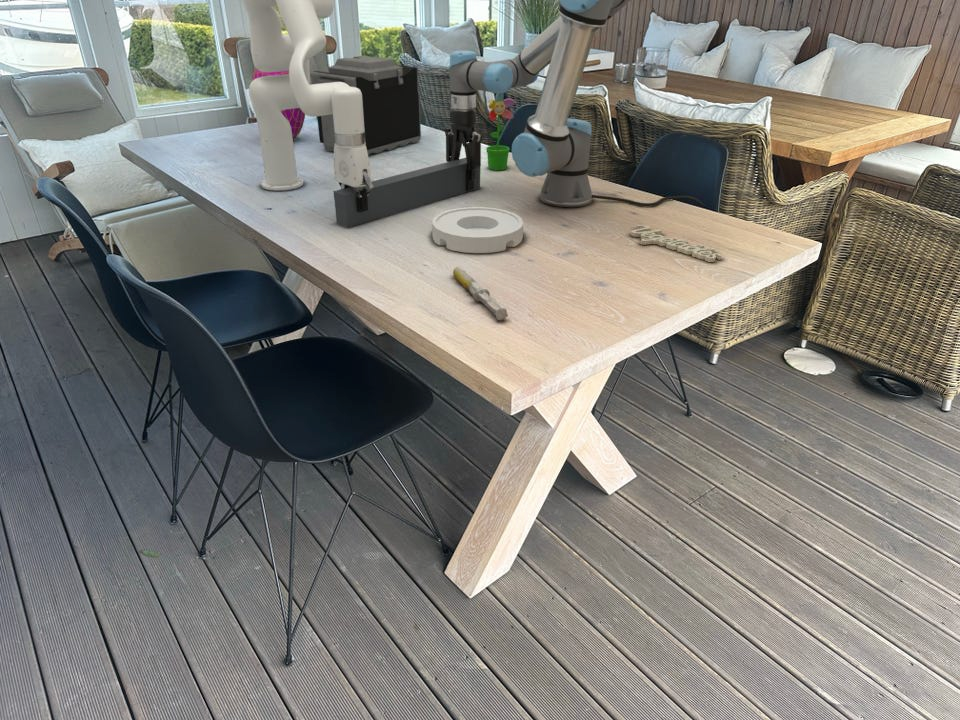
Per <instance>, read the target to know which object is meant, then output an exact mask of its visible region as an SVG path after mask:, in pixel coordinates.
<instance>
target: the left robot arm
mask: <svg viewBox="0 0 960 720" xmlns="http://www.w3.org/2000/svg"><path fill="white" fill-rule="evenodd" d="M242 3H243V6H244V8H245V10H246V14H247V18H248V26H249V39H250V48H251V49H250V50H251V51H250V52H251V58H252V63H253V66H254V67H256V69H258V70H259V71H261V72H280V71H289V74H286V75H273V76H264V77H259V78H257V79H255V80H253V81H252V80H251V82H250V84H249V87H248V93H249V97H250V101H251V104H252V107H253V110H254V114H255V119H256V123H257V129H258V135H259V143H260V149H261V156H262V164H263V173H264V176H265V179H263V180H262V181H261V183H260V184H261V188H262V189H264V190H267V191H276V192H279V191H280V192H281V191H291V190H295V189H298V188H301V187H302V186H303V185H304V180H303V178H301V177H299V176H298V171H297V161H296V154H295V145H294V138H293V137H292V130H291V125H290V123H289V121H288V120H287V119H286V118H285V117H284V116H283V114H282V113H281V111H282V110H286V109H294V108H300V109H301V110H302V112H303V113H304V114H305V116H307V117H314V118H315V117H317V116H323V115H329V114H333V120H334V130H335V141H336V143H335V146H334V151H333V174H334V180H335V181H336V182H337V183H338V185H339V186H340V189H344V188H348V187H356V191H357V195H358V197H357V198H356V200H357V211H358V212H359V213H360V212H364V211H367V210H368V199H367V196H368V195H369V192H370V191H371V190H372V189H373V184H372V180H371V179H372V176H371V175H372V174H371V165H370V159H369V155H368V153H367V148H366V146H365V145H366V143H365V129H364V116H363V102H362V93H361V91H360V89H358V88H356V87H350V86H349V85H347V84H346V83H343V82H332V83H321V84H312V83H311V71H310V70H311V69H310V67H311V66H310V59H311V58H313V57H315V56H316V55H317V54H319V53H320V52H322V51H323V49H324V48H326V46H327V38H326V35H325V32H324V30H323V27H322V25H321V23H320V19H328V18H329V17H331V16H332V14H333V11H334V0H242ZM275 7H277V9H278V11H279V13H280V15H279V13H278V11H277V10H276V8H275ZM282 22H283V24H284V27H285V29H286V32H287V33H285V34H283V31H282ZM360 187H363V189H362V191H361V190H360Z"/></svg>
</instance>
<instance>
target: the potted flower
mask: <svg viewBox="0 0 960 720" xmlns="http://www.w3.org/2000/svg"><path fill="white" fill-rule="evenodd" d="M504 97H505V93H496V95H495V98H494V99H491V100H490V101H489V104H488V108H489V109H490V111H489V113H488V116H489V120H490V121H491V122H493V121H495V120H496V118H497V131H494V132H492V133H490V136H491V138H493V139H496V145H495V144H494V145H488V146H486V153H487V155H486V156H487V166H488V169H490V170H492V171H503V170H506V169H507V168H508V159H509V154H510V147H509V146H506V145H501V144H500V132H502V131H504V129H505V126H503V125H500V123H501V122H500V121H501V119H500V118H501V117H502V118H503V119H505V120H511V119H514V118H515V117H514V115H513V113H512V112H511V111H510V110H509V109H508V108H510V107H512V106H514V105H516V104H517V102H516V101H515V100H514V99H513V98H505V99H504Z"/></svg>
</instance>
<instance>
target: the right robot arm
mask: <svg viewBox="0 0 960 720" xmlns="http://www.w3.org/2000/svg"><path fill="white" fill-rule="evenodd" d="M558 2H559V3H560V5H559V7H558V13H559V15H560V16H558V18H557V19H555V20H554V21H553V22H552V23H551V24H550V25H549V26H548V27H546V29H544V30H543V31H542V32H541V33H540V34H538V36H536V37H535V38H534V39H533V40H532V41H531V42H530V43H529V44H527V46H525V47H524V48H523V49H522V50H521V51H520V52H519V53H518V54H516V56H514V57H513V58H510V59H504V60H496V61H483V60H478V58H477V53H476V52H475V51H473V50H454V51H452V52H451V53H450V54H449V66H448V68H449V108H450V110H449V119H450V121H449V122H450V124H451V126H450V127H447V128H444V135H445V162H450V161H454V160H458V159H460V156H461V152H462V151H461V150H462V147H463V148H464V154H465V158H466V160H467V165H468V168H466V191H469V192H472V191H475V190H474V180H475V169H476V168H479V167H480V168H481V166H482V139H483V134H482V133H478V132H476V129H475V124H476V122H477V111H476V108H477V91H481V92H487V93H491V94H498V93H503V94H505V93H507V92H508V90H510V89H513V88H518V87H527V86H529V85H532V84H534V83H535V82H536V81H537V79H538V77H539V75H540V72H541V71H543V70H544V69H546V67H548V68H547V72H546V76H545V79H544V83H543V86H542V89H541V93H540V97H539V99H538V103H537V106H536V110H535V114H533V115H531V116H529V117H528V118H527V121H526V124H525V127H524V130H523V131H524V132H521V133H520V134H518V135H517V136H516V137H515V138H514V139H513V142H512V144H511V156H512V160H513V161H514V163H515V166H516V168H517V169H518V170H519V171H520V173H522V174H524V176H525V175H526V176H527V177H533V178H534V177H543V176H544V175H546V176H545V178H544V181H543V184H542V187H541V189H540V192H539V200H540V202H542V203H543V204H546V205H549V206H553V207H558V208H559V207H560V208H580V207H584V206H588V205H589V204H591V203H592V199H598V200H599V199H601V200H608V201H617V202H623V203H628V204H632V205H636V206H640V207H655V206H657V205H659V204H661V203H662V202H664V201H669V200H691V201H693V202H695V203H697V204H698V205H699V206H700V207H703V206H704V204H703V202H702V201H701V200H700V199H698V198H697V197H694V196H690V195H675V196H673V195H672V196H664V197H662V198H660V199H658V200H657V201H654V202H640V201H635V200H631V199H628V198H627V199H626V198H623V197H622V198H621V197H616V196H615V197H614V196H607V195H598V194H593V193H592V188H591V184H590V179H589V165H590V153H591V143H592V137H593V135H592V124H591V122H589V121H587V120H583V119H578V118H571V117H570V114H571V110H572V107H573V105H574V101H575V99H576V95H577V93H578V88H579V86H580V83H581V80H582V78H583V77H582V76H583V73H584V70H585V67H586V64H587V62H588V59H589V55H590V51H591V48H592V45H593V42H594V39H595V37H596V33H597V31H598V30H599V29H601V28H603V27H605V26H606V22H607V21H608V20H610V19H611V18H612V17H614V16H615V15H616V14H617V13H619V12H620V11H621V10H622V9H623V8H624V7H626V6H627V5H628V4H629V3H630V2H631V0H558ZM569 117H570V118H569ZM471 190H472V191H471Z"/></svg>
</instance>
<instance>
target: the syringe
mask: <svg viewBox="0 0 960 720" xmlns="http://www.w3.org/2000/svg"><path fill="white" fill-rule="evenodd" d="M452 274H453V277H454V279H455V280H457V281H458V282H459V283H460V285H462V287H464V289H466V290H467V291H468V293H470V295H471V296H472V298H473V300H474V302H477V303H478V302H480V303H482V304H483V305H484V306H485V307H486V308H487V309H488V310H489V311H490V312H491V313H492V314H493V315H494V316H495V317H496V320H497V321H503V320H504V319H506V318H507V317H509V314H508V310H507V308H506V307H502V306H501V305H500V303H498V302H497V301H496V300H494V299H493V298H492V297H491V296H490V295H491V293H490V290H488V289H486V288H483V287H482V286H481V285H480V284H479V283H478V282H477V281H476V280H474V278H473V277H471V275H469V274H468V273H467V272H466V270H465V269H464V268H463V267H462V266H456V267H454V268H453V271H452Z"/></svg>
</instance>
